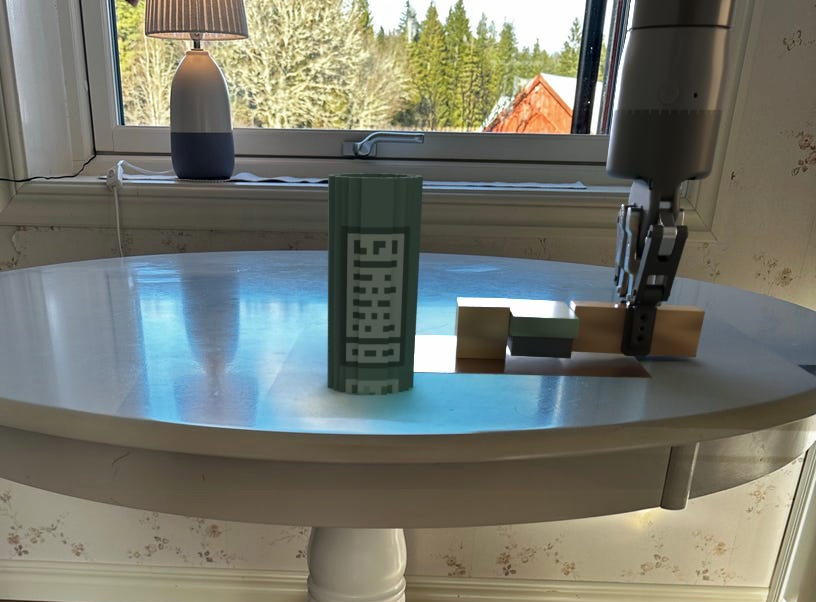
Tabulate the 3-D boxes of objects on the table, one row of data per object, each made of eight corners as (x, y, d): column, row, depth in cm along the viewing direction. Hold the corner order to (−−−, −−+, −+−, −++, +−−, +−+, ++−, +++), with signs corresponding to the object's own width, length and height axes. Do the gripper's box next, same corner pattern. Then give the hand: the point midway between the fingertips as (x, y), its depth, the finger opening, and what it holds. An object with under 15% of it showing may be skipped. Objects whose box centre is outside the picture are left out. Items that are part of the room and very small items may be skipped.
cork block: (501, 348, 79) (506, 298, 78) (505, 359, 76) (510, 306, 74) (453, 347, 80) (456, 297, 78) (455, 358, 76) (458, 306, 74)
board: (616, 356, 84) (618, 339, 83) (650, 397, 72) (653, 377, 71) (389, 351, 85) (389, 334, 84) (384, 391, 73) (385, 371, 72)
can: (407, 393, 72) (416, 173, 65) (415, 415, 67) (426, 178, 60) (326, 393, 72) (327, 172, 65) (328, 415, 67) (329, 177, 60)
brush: (679, 343, 80) (688, 300, 78) (705, 365, 73) (715, 318, 71) (500, 335, 81) (505, 292, 79) (508, 356, 74) (514, 309, 72)
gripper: (751, 104, 62) (700, 372, 71) (696, 106, 74) (658, 335, 83) (634, 103, 63) (598, 370, 71) (598, 106, 75) (571, 333, 83)
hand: (630, 350), depth 77 cm, fingers closed on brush, 2 cm apart
